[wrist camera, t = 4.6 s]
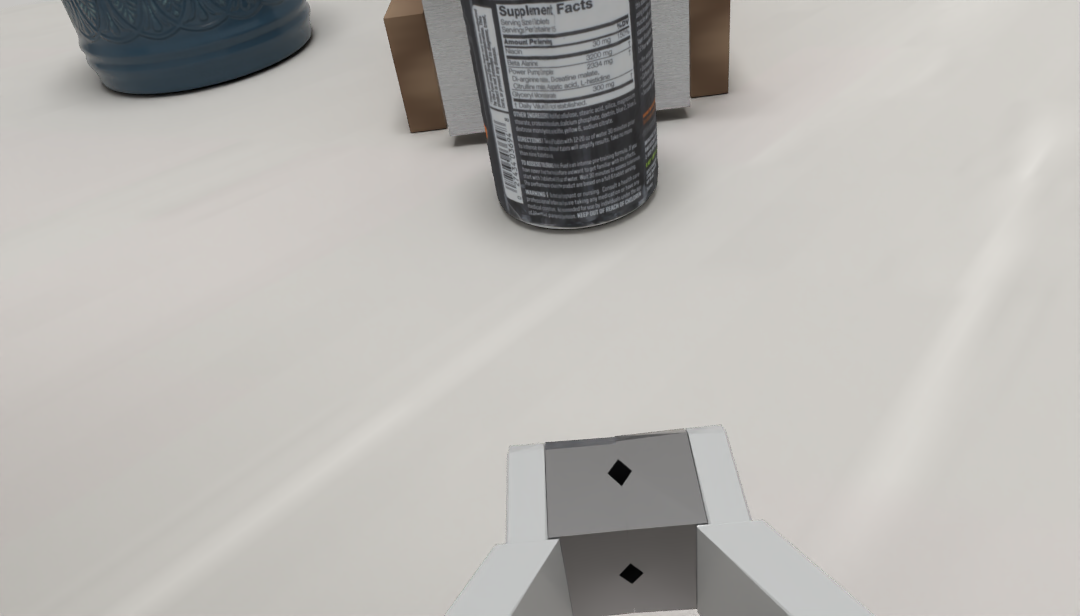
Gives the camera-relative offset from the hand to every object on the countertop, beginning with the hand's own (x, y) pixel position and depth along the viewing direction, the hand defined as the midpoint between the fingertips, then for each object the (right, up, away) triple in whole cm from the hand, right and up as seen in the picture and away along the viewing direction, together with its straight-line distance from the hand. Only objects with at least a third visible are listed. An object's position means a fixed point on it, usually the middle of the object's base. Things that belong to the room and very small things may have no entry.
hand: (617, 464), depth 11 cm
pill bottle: (0, +6, +18) cm, 19 cm away
